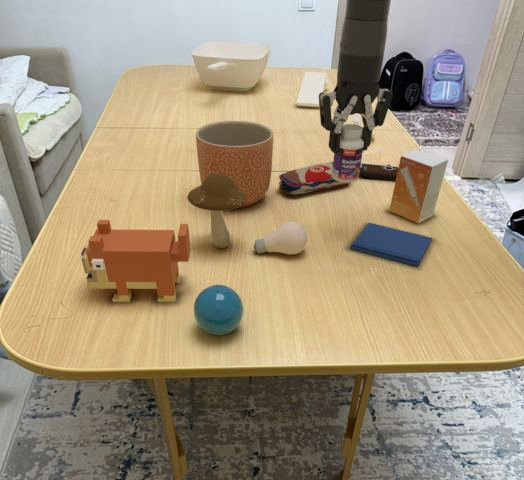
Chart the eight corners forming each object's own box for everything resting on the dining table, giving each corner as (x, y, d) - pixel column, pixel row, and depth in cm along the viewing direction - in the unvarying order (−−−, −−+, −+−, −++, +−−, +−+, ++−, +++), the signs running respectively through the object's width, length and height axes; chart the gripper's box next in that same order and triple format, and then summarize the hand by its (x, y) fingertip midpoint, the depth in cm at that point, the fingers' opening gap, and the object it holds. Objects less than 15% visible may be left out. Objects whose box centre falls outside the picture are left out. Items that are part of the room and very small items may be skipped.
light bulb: (258, 257, 102) (310, 244, 101) (258, 268, 97) (312, 255, 95) (250, 227, 99) (302, 213, 98) (248, 237, 94) (304, 222, 92)
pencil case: (359, 194, 120) (362, 174, 117) (281, 200, 117) (282, 180, 113) (343, 176, 128) (346, 157, 125) (271, 182, 125) (271, 162, 121)
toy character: (98, 276, 91) (83, 216, 83) (194, 276, 92) (189, 217, 84) (86, 304, 85) (69, 242, 77) (190, 304, 85) (184, 243, 77)
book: (431, 240, 104) (432, 235, 103) (417, 266, 96) (418, 262, 95) (368, 224, 108) (368, 220, 108) (349, 249, 100) (350, 244, 100)
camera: (360, 159, 130) (402, 163, 129) (358, 170, 132) (399, 174, 131) (360, 166, 125) (404, 171, 124) (358, 177, 127) (401, 182, 126)
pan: (272, 81, 199) (273, 42, 190) (251, 113, 167) (251, 68, 158) (208, 76, 203) (206, 38, 194) (176, 107, 171) (172, 63, 162)
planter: (193, 188, 121) (187, 124, 111) (258, 180, 125) (258, 117, 115) (210, 219, 109) (206, 150, 99) (281, 209, 113) (284, 141, 103)
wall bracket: (317, 125, 175) (324, 93, 193) (324, 105, 170) (330, 74, 188) (290, 116, 174) (300, 85, 192) (296, 96, 169) (306, 65, 187)
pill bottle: (339, 185, 95) (346, 133, 89) (326, 174, 99) (332, 124, 92) (363, 181, 97) (371, 130, 90) (350, 171, 101) (357, 121, 94)
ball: (245, 315, 83) (245, 275, 78) (241, 346, 77) (241, 305, 72) (198, 313, 83) (195, 273, 78) (191, 344, 77) (187, 303, 72)
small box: (388, 211, 113) (400, 155, 105) (404, 203, 116) (416, 148, 108) (418, 224, 109) (432, 166, 100) (434, 215, 112) (449, 158, 103)
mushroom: (198, 232, 104) (193, 162, 94) (251, 238, 103) (250, 167, 93) (185, 254, 98) (178, 181, 88) (241, 260, 96) (240, 187, 86)
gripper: (332, 56, 79) (322, 161, 90) (410, 51, 82) (391, 153, 93) (314, 46, 84) (307, 147, 95) (389, 43, 87) (373, 140, 99)
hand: (348, 150), depth 94 cm, fingers closed on pill bottle, 5 cm apart
